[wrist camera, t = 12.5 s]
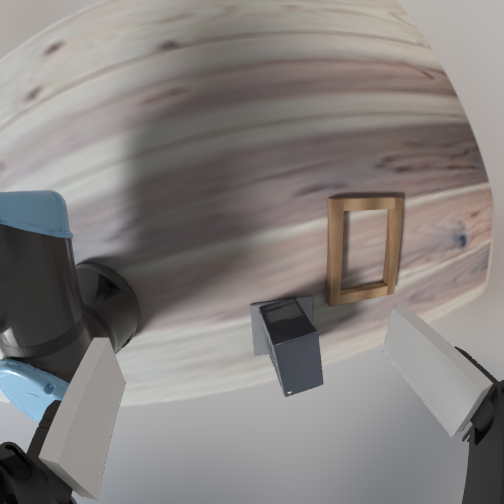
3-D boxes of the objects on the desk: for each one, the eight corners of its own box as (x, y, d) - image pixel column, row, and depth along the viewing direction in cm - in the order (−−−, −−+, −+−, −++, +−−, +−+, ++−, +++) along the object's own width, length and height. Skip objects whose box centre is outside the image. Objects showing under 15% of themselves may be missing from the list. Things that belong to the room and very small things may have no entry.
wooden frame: (325, 301, 45) (329, 306, 43) (327, 198, 40) (332, 199, 38) (388, 289, 46) (394, 293, 45) (396, 196, 41) (402, 197, 39)
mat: (254, 353, 46) (254, 355, 46) (250, 304, 43) (251, 306, 42) (309, 344, 47) (310, 346, 47) (311, 295, 44) (313, 297, 44)
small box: (305, 346, 47) (325, 385, 37) (269, 356, 46) (283, 399, 36) (297, 295, 43) (320, 331, 33) (257, 306, 43) (270, 347, 33)
